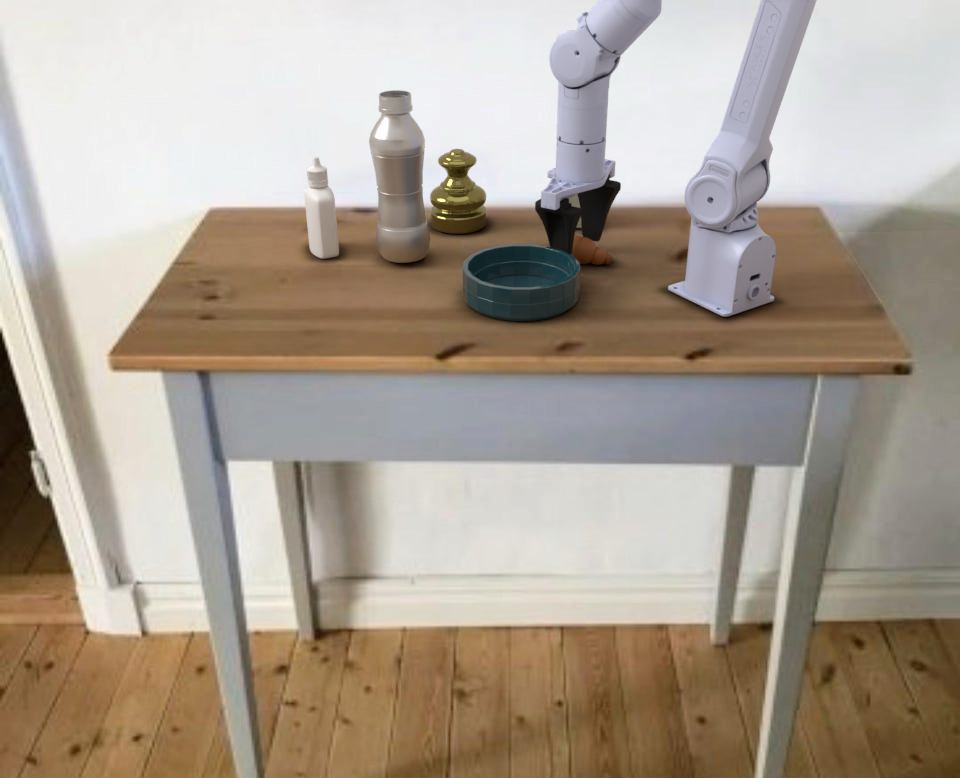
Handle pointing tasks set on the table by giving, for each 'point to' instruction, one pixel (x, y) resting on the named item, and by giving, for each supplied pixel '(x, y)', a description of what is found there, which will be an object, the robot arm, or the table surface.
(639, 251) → the table surface
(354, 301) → the table surface
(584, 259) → the croissant
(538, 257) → the bowl
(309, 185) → the eye dropper bottle
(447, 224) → the gold tiered knob
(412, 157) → the plastic bottle
